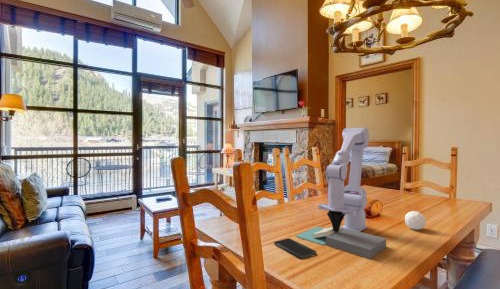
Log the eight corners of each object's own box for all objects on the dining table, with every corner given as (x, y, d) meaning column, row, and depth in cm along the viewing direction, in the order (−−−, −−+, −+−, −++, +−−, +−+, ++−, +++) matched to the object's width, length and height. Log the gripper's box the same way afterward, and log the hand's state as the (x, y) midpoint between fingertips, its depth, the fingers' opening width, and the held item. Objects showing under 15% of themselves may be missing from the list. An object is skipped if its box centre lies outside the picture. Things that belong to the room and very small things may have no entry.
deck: (343, 235, 105) (343, 227, 105) (386, 246, 93) (386, 238, 93) (325, 244, 95) (325, 236, 95) (370, 259, 84) (370, 249, 84)
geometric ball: (409, 235, 112) (397, 218, 116) (422, 226, 115) (409, 210, 118) (421, 231, 106) (407, 214, 109) (434, 222, 108) (420, 205, 111)
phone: (300, 257, 84) (272, 242, 96) (300, 260, 84) (272, 245, 96) (318, 251, 88) (289, 237, 100) (318, 255, 88) (289, 240, 100)
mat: (316, 227, 115) (316, 226, 115) (343, 234, 106) (343, 233, 106) (295, 236, 104) (295, 235, 104) (323, 245, 95) (323, 244, 95)
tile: (326, 231, 108) (325, 228, 108) (341, 229, 103) (339, 225, 104) (313, 238, 101) (312, 234, 102) (328, 235, 96) (327, 231, 97)
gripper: (314, 194, 102) (314, 228, 102) (349, 200, 92) (349, 238, 92) (323, 192, 107) (323, 224, 107) (358, 197, 96) (358, 233, 97)
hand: (336, 230), depth 100 cm, fingers closed
